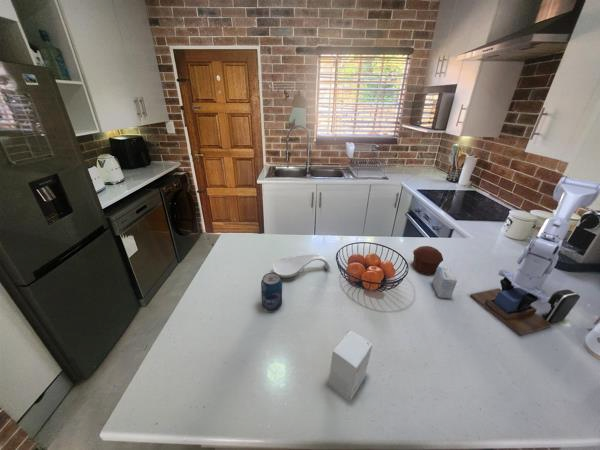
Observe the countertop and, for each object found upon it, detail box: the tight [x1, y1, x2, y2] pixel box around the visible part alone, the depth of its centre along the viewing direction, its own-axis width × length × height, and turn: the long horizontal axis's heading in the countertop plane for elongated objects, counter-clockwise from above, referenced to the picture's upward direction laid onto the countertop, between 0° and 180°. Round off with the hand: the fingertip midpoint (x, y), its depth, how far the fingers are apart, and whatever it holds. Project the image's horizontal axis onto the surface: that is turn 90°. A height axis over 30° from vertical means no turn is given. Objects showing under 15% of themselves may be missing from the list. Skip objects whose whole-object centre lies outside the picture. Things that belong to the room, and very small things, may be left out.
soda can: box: [260, 272, 283, 313], centre depth 82 cm, size 7×7×12 cm
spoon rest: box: [272, 253, 331, 279], centre depth 101 cm, size 24×12×7 cm, turn 103°
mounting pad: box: [470, 288, 553, 337], centre depth 86 cm, size 14×18×3 cm
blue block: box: [493, 288, 532, 314], centre depth 85 cm, size 10×5×6 cm, turn 106°
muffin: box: [412, 245, 444, 275], centre depth 105 cm, size 12×11×10 cm
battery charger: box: [541, 289, 581, 323], centre depth 82 cm, size 7×4×11 cm, turn 103°
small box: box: [328, 329, 373, 402], centre depth 60 cm, size 8×6×13 cm
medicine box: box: [431, 266, 458, 300], centre depth 93 cm, size 8×4×9 cm, turn 168°
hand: (511, 303), depth 85 cm, fingers closed on blue block, 5 cm apart
